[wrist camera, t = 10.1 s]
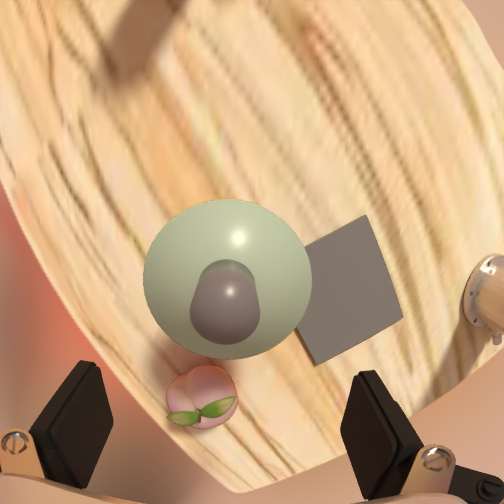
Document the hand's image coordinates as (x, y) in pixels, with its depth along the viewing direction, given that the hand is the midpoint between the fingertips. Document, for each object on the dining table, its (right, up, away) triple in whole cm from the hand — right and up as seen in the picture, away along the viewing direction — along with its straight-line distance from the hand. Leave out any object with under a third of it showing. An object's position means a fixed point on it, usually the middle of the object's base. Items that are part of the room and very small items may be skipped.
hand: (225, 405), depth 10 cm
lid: (-1, +3, +13) cm, 13 cm away
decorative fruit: (-5, -12, +32) cm, 35 cm away
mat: (+12, 0, +30) cm, 32 cm away
